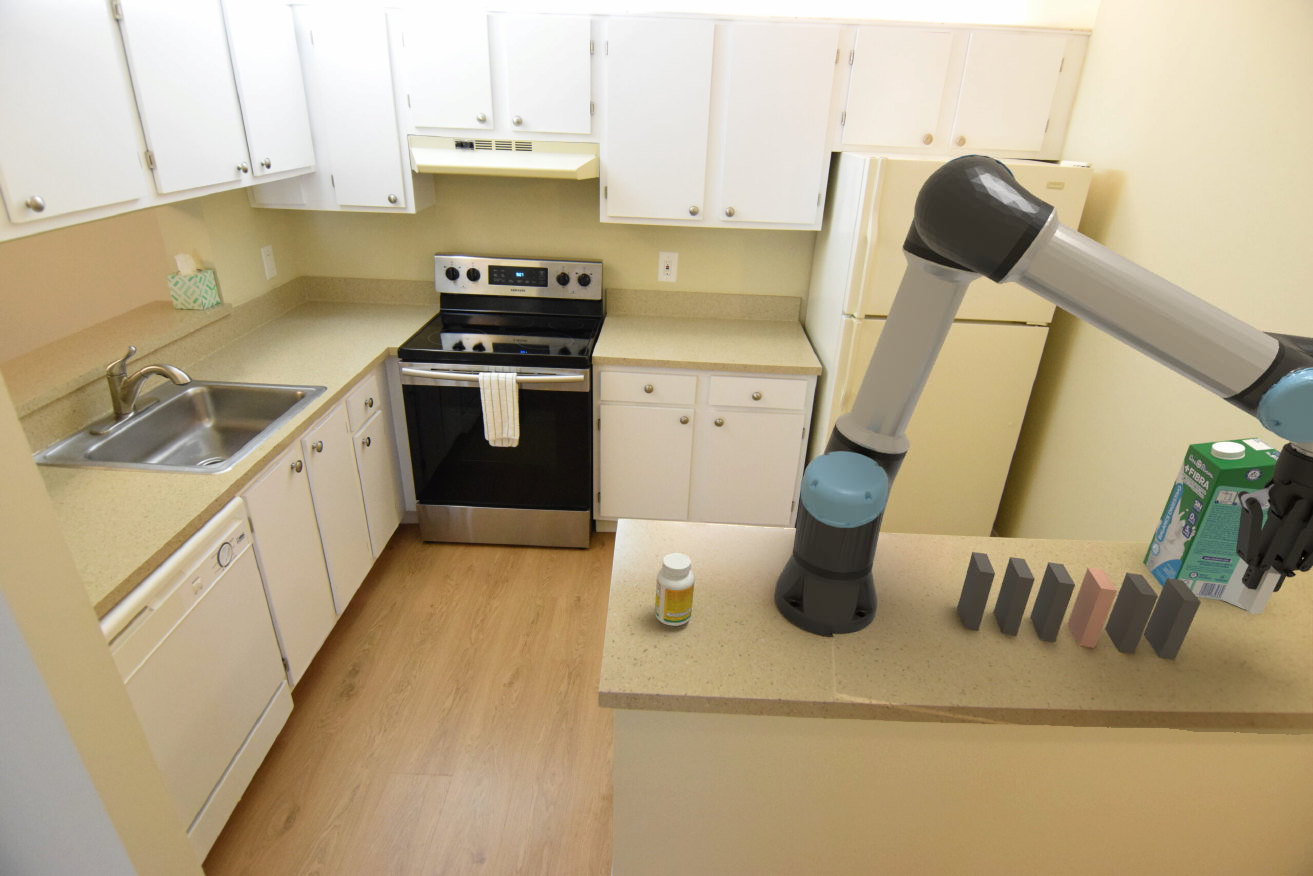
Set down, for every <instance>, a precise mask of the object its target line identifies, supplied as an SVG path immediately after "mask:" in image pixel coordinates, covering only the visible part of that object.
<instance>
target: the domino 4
mask: <svg viewBox="0 0 1313 876" xmlns="http://www.w3.org/2000/svg"><path fill="white" fill-rule="evenodd" d="M1117 592H1118V589H1117V588H1116V587H1115V586H1114V584H1113V582H1112V581H1111V579H1110V578H1109V576H1108V575H1107V573H1106V572H1105V571H1104V569H1103V568H1102V569H1101V568H1100V569H1099V568H1094V567H1093V568H1092V567H1087V569H1086V572H1085V574H1084V576H1083V580H1082V582H1081V585H1080V588H1079V591H1078V594H1077V597H1076V599H1075V601H1074V605H1073V608H1072V610H1071V613H1070V616H1069V618H1068V621H1067V625H1068V627H1069V628H1070V630H1071V632H1072V634H1073V636H1074V638H1075V639H1076V641H1077V642H1076V643H1078V646H1080V647H1084V648H1085V647H1086V648H1094V649H1095V648H1096V647H1097V643H1098V641H1099V638H1100V636H1101V633H1102V630H1103V628H1104V625H1105V622H1106V621H1107V618H1108V616H1109V612H1110V610H1111V607H1112V605H1113V601H1114V600H1115V598H1116V595H1117Z"/></svg>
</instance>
